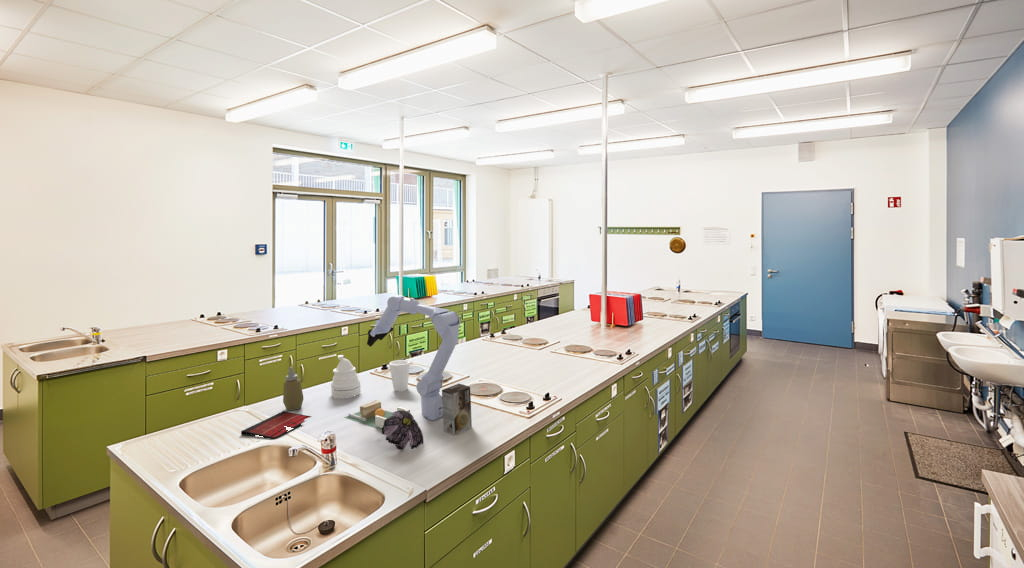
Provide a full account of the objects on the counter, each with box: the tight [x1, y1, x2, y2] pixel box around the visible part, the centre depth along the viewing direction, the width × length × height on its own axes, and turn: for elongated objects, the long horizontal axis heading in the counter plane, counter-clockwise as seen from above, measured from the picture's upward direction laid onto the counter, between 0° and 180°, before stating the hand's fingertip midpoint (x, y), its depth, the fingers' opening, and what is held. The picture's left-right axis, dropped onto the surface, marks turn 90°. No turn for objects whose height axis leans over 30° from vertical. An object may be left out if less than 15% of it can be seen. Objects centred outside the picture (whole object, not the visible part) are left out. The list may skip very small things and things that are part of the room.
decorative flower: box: [381, 410, 424, 451], centre depth 167 cm, size 15×12×15 cm
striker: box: [359, 400, 382, 419], centre depth 192 cm, size 3×8×5 cm, turn 145°
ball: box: [375, 408, 386, 417], centre depth 189 cm, size 4×4×4 cm
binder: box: [240, 410, 313, 440], centre depth 185 cm, size 16×2×21 cm
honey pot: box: [330, 354, 362, 399], centre depth 222 cm, size 13×13×18 cm
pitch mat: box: [343, 409, 393, 431], centre depth 189 cm, size 25×14×2 cm, turn 55°
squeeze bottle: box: [282, 366, 305, 411], centre depth 204 cm, size 8×8×18 cm
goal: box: [375, 406, 411, 428], centre depth 184 cm, size 6×12×4 cm, turn 145°
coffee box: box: [441, 383, 473, 436], centre depth 178 cm, size 9×6×16 cm
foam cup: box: [388, 359, 411, 392], centre depth 227 cm, size 10×9×13 cm
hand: (374, 341), depth 205 cm, fingers open, 7 cm apart
